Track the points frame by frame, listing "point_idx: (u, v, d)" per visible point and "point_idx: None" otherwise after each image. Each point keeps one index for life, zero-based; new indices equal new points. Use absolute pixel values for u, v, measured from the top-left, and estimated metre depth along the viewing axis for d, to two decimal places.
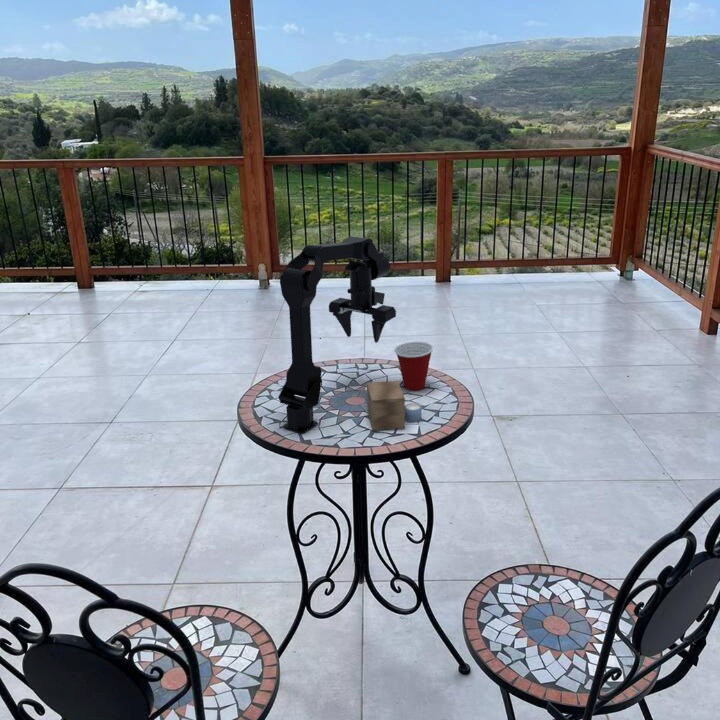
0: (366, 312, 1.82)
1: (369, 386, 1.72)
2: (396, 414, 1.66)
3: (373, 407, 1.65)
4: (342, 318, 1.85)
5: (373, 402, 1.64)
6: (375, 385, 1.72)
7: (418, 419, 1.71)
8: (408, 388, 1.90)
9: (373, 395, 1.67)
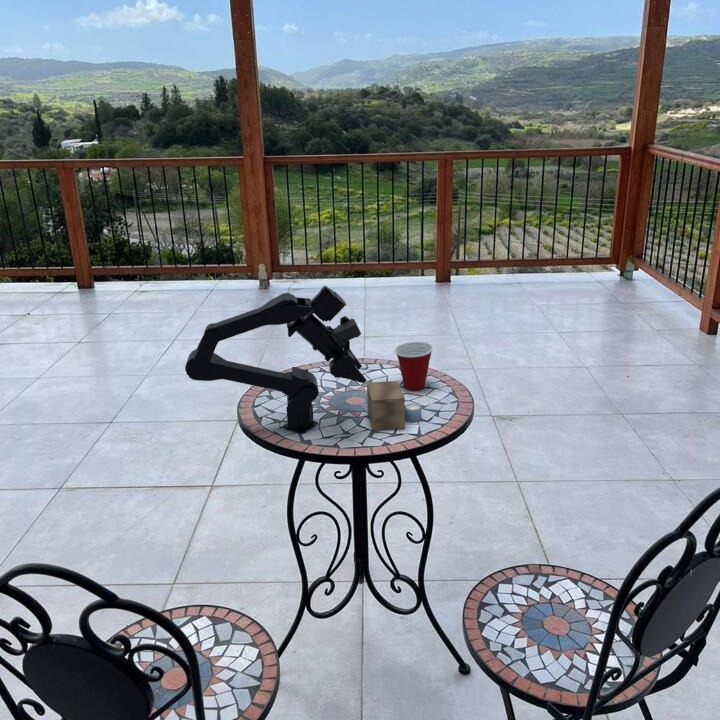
0: None
1: (369, 386, 1.72)
2: (396, 414, 1.66)
3: (373, 407, 1.65)
4: None
5: (373, 402, 1.64)
6: (375, 385, 1.72)
7: (418, 419, 1.71)
8: (408, 388, 1.90)
9: (373, 395, 1.67)
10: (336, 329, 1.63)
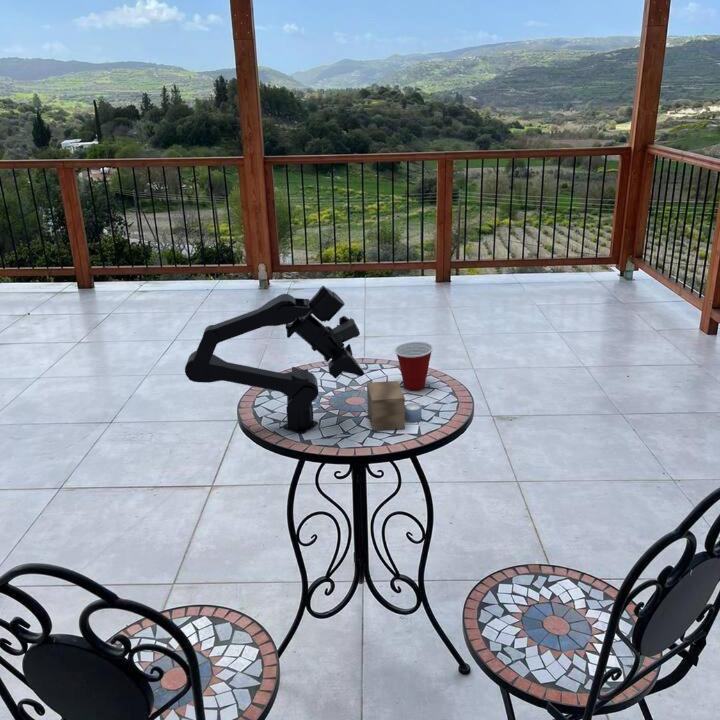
0: None
1: (369, 386, 1.72)
2: (396, 414, 1.66)
3: (373, 407, 1.65)
4: None
5: (373, 402, 1.64)
6: (375, 385, 1.72)
7: (418, 419, 1.71)
8: (408, 388, 1.90)
9: (373, 395, 1.67)
10: (335, 329, 1.63)
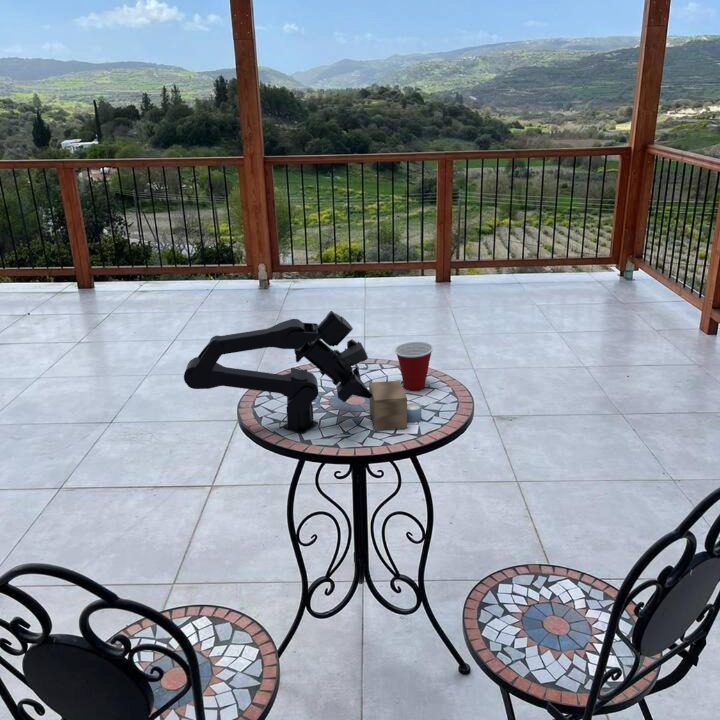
0: None
1: (371, 386, 1.72)
2: (398, 414, 1.66)
3: (375, 407, 1.65)
4: None
5: (375, 402, 1.64)
6: (377, 385, 1.73)
7: (418, 419, 1.71)
8: (408, 388, 1.90)
9: (375, 395, 1.67)
10: (343, 353, 1.65)
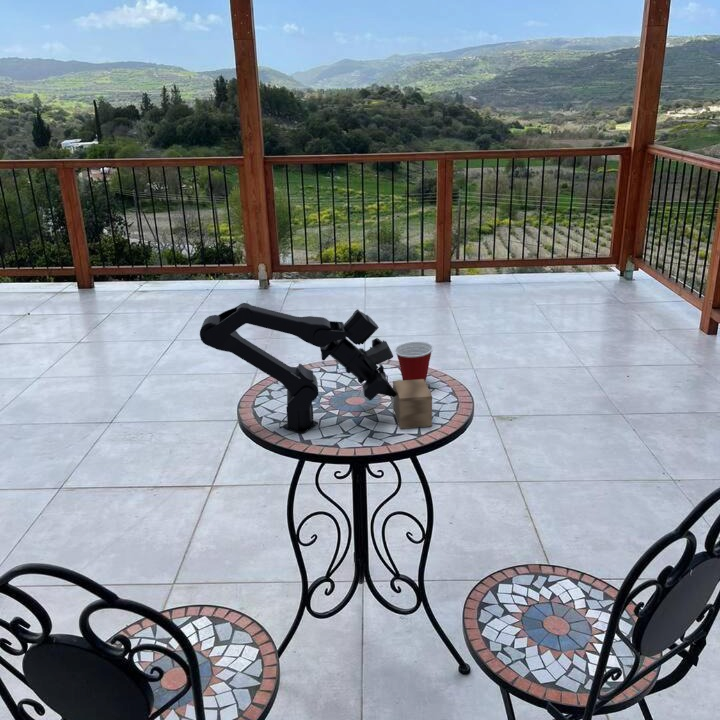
0: None
1: (395, 384, 1.73)
2: (423, 412, 1.67)
3: (401, 405, 1.65)
4: None
5: (401, 400, 1.65)
6: (401, 383, 1.73)
7: None
8: None
9: (400, 393, 1.67)
10: (368, 351, 1.66)
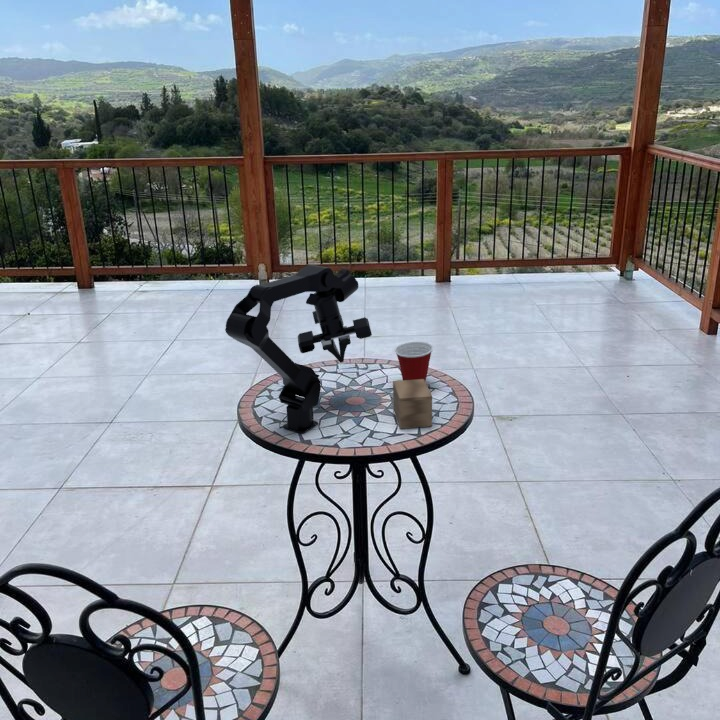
0: None
1: (395, 384, 1.73)
2: (423, 412, 1.67)
3: (401, 405, 1.65)
4: (335, 348, 1.73)
5: (401, 400, 1.65)
6: (401, 383, 1.73)
7: None
8: None
9: (400, 393, 1.67)
10: None
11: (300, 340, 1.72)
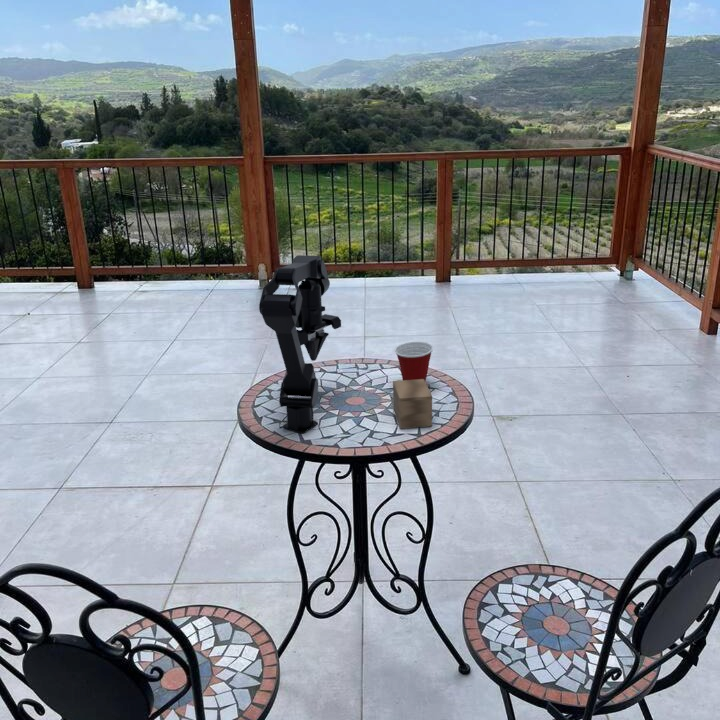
0: (317, 329, 1.79)
1: (395, 384, 1.73)
2: (423, 412, 1.67)
3: (401, 405, 1.65)
4: None
5: (401, 400, 1.65)
6: (401, 383, 1.73)
7: None
8: None
9: (400, 393, 1.67)
10: None
11: None
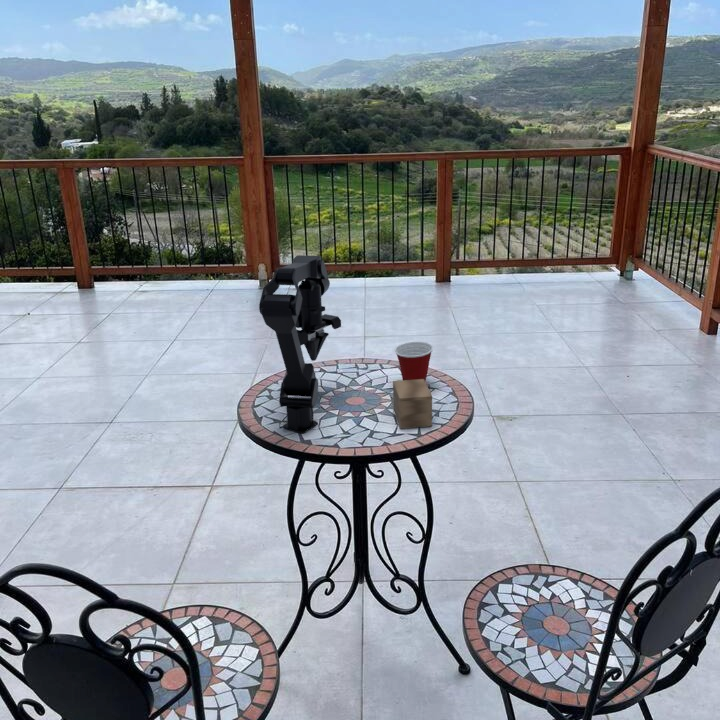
0: (317, 329, 1.79)
1: (395, 384, 1.73)
2: (423, 412, 1.67)
3: (401, 405, 1.65)
4: None
5: (401, 400, 1.65)
6: (401, 383, 1.73)
7: None
8: None
9: (400, 393, 1.67)
10: None
11: None
